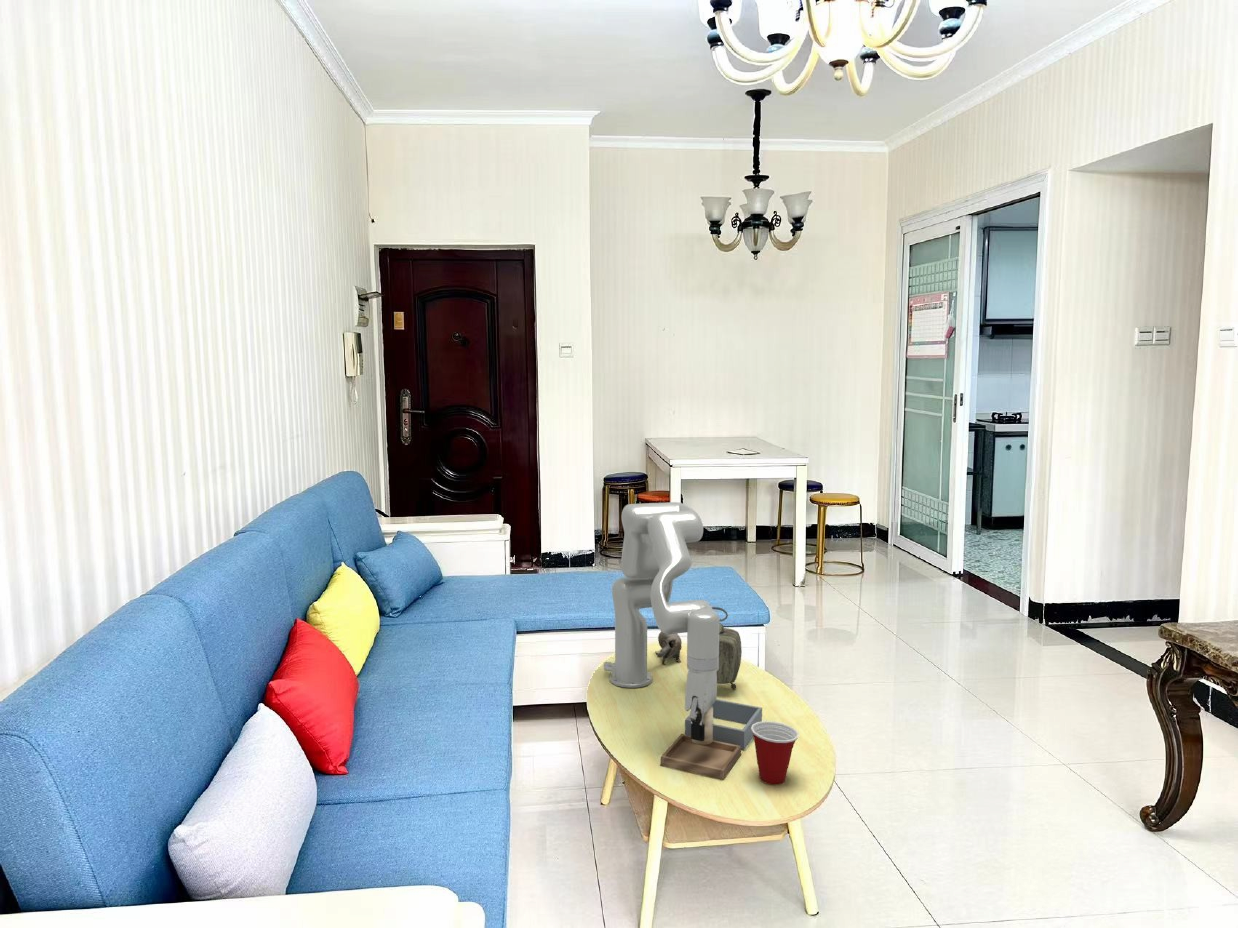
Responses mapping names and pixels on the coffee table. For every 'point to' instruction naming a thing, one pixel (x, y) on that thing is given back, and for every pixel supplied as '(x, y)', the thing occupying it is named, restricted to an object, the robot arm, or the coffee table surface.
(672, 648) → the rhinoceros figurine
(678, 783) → the coffee table surface
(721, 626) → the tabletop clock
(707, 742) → the beige grooved cylinder
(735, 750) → the tray
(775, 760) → the plastic cup
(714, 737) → the grey square frame
